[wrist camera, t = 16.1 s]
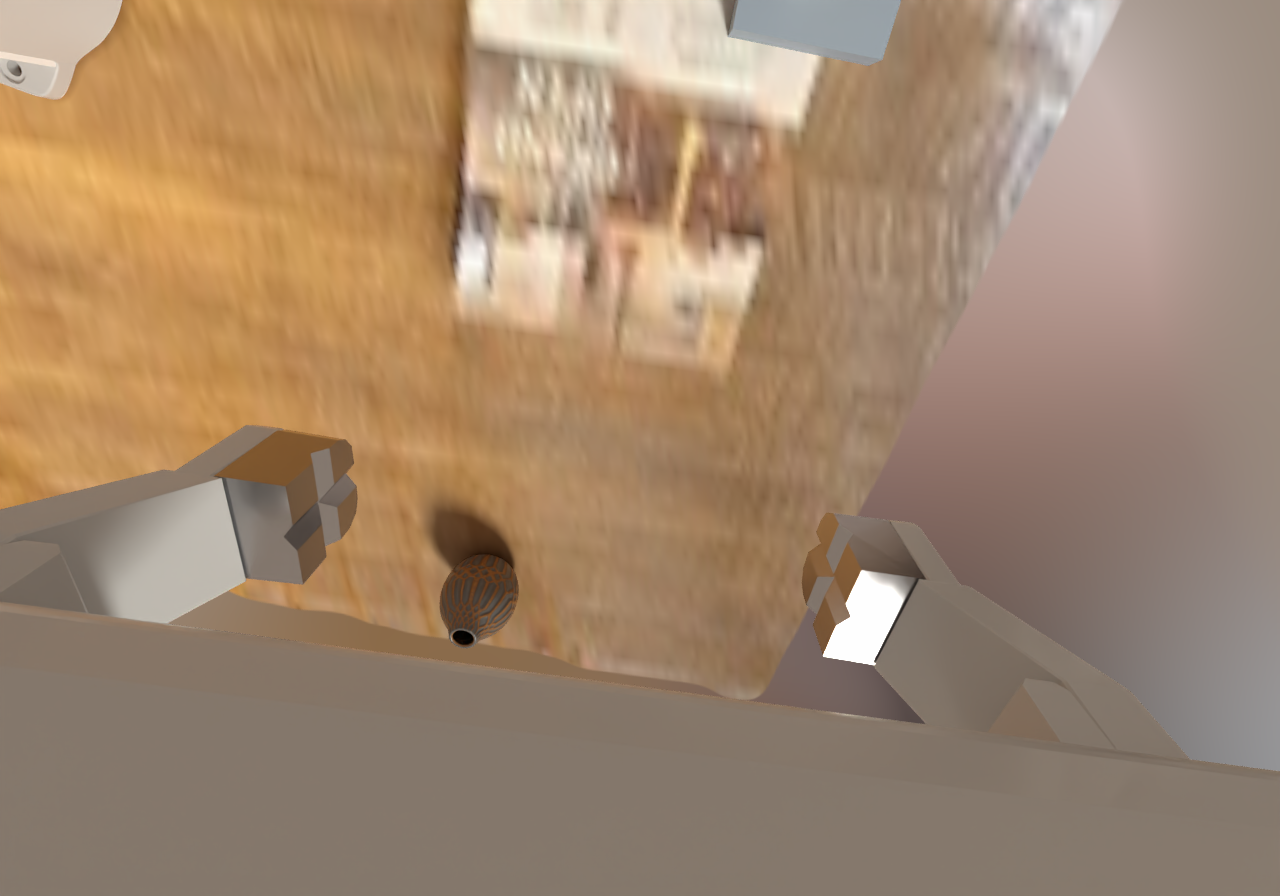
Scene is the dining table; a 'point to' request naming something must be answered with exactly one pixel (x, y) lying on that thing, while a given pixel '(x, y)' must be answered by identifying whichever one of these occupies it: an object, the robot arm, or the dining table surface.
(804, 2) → the slab
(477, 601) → the vase
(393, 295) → the dining table surface
